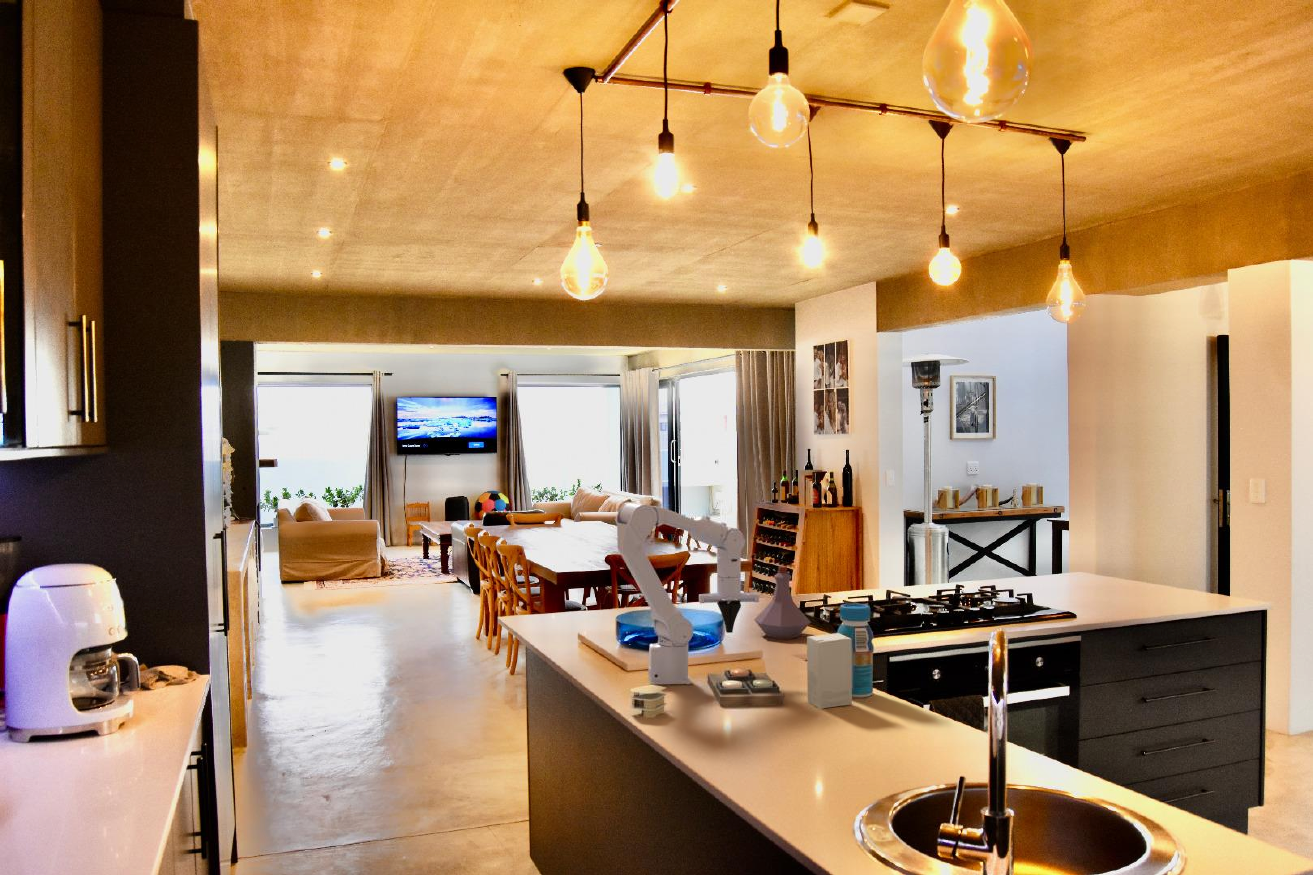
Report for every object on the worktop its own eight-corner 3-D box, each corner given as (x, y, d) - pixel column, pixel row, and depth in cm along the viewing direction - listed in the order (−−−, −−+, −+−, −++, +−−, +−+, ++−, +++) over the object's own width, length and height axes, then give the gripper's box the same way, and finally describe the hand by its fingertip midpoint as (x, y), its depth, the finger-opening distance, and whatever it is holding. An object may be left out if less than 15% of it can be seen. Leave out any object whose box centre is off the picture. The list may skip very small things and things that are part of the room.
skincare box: (838, 698, 219) (839, 632, 219) (853, 705, 213) (853, 637, 213) (805, 702, 216) (805, 634, 216) (819, 709, 211) (819, 640, 210)
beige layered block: (646, 706, 214) (646, 681, 214) (679, 713, 208) (679, 687, 208) (616, 716, 206) (616, 690, 206) (649, 724, 200) (649, 697, 200)
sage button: (754, 690, 217) (754, 684, 217) (751, 684, 222) (751, 679, 222) (774, 689, 218) (774, 684, 218) (770, 684, 222) (770, 679, 222)
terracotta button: (731, 678, 227) (731, 673, 227) (728, 674, 231) (728, 668, 231) (750, 678, 227) (750, 673, 227) (747, 673, 232) (747, 668, 232)
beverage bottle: (830, 695, 222) (831, 606, 222) (841, 686, 229) (842, 601, 229) (867, 700, 218) (868, 610, 218) (877, 691, 225) (878, 604, 225)
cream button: (723, 691, 216) (723, 685, 216) (720, 685, 220) (720, 680, 220) (743, 690, 216) (743, 685, 216) (740, 685, 221) (740, 680, 221)
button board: (720, 705, 213) (720, 692, 213) (707, 682, 233) (707, 669, 233) (784, 704, 214) (784, 691, 214) (765, 681, 234) (765, 668, 234)
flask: (822, 637, 284) (823, 568, 284) (779, 644, 275) (780, 572, 274) (784, 627, 297) (785, 561, 297) (742, 633, 288) (742, 565, 288)
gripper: (701, 579, 235) (701, 635, 236) (761, 578, 237) (761, 634, 237) (697, 574, 242) (698, 629, 243) (755, 573, 244) (756, 628, 244)
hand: (729, 631), depth 240 cm, fingers closed
